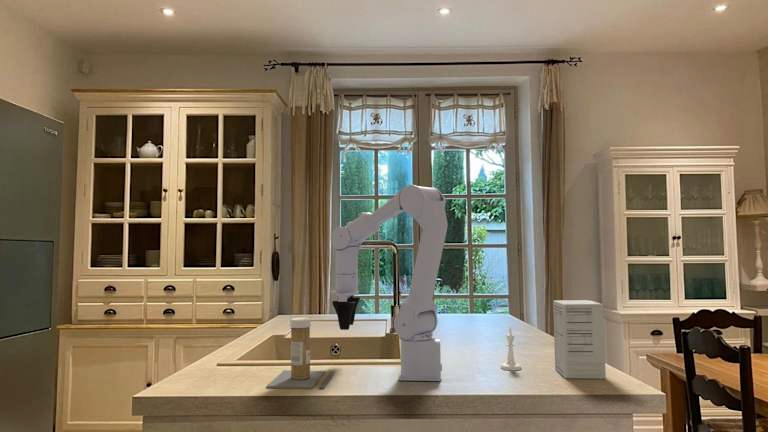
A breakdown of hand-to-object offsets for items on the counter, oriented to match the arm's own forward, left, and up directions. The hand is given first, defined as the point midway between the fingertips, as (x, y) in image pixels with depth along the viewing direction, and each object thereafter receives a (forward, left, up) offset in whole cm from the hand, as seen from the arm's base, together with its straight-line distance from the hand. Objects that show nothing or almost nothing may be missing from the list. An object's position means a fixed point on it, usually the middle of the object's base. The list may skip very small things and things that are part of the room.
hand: (346, 327), depth 137 cm
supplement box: (-56, +7, -10) cm, 57 cm away
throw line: (+2, +16, -9) cm, 19 cm away
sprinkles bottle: (+8, +16, -9) cm, 20 cm away
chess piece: (-41, +2, -10) cm, 42 cm away
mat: (+9, +16, -9) cm, 21 cm away
